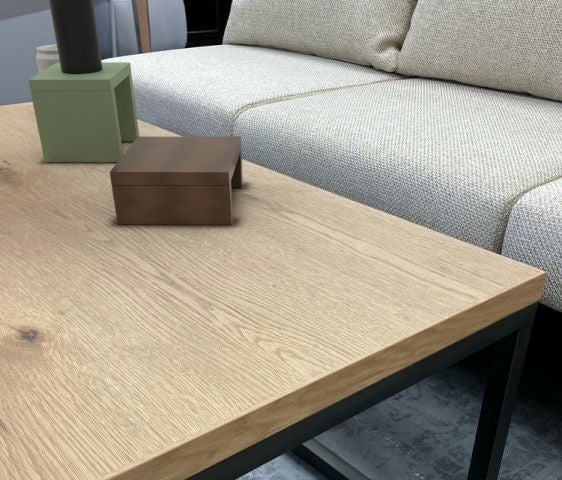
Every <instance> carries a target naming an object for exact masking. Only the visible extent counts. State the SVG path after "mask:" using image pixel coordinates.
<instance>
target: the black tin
mask: <svg viewBox="0 0 562 480" xmlns="http://www.w3.org/2000/svg"><path fill="white" fill-rule="evenodd" d="M48 1H49V3H48V4H49V8H50V13H51V20H52V26H53V30H54V36H55V42H56V43H55V44H57V49H58V55H59V60H60V66H61V71H62V72H63V73H66V74H89V73H95V72H99V71H101V70H102V69H103V68H102V63H103V61H102V55H101V49H100V41H99V34H98V27H97V21H96V13H95V7H94V0H48Z"/></svg>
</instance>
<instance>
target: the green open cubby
mask: <svg viewBox="0 0 562 480" xmlns="http://www.w3.org/2000/svg"><path fill="white" fill-rule="evenodd" d="M102 68H103V69H102V70H101V71H99V72H95V73H89V74H66V73H63V72H62V71H61V66H60V63H55V64H54V65H52V66H50V67H49V68H47V69H45V70H44V71H42V72H40V73H39V72H38V73H37V74H35V75H34V76H31V77H30V78H28V85H29V91H30V96H31V100H32V105H33V111H34V115H35V120H36V126H37V130H38V136H39V140H40V146H41V150H42V155H43V161H44V163H117V162H118V161H119V159H120V158H121V157H122V156H123V154H124V150H123V144H122V142H134V140H135V139H136V138H137V137H140V131H139V124H138V115H137V107H136V100H135V98H136V97H135V90H134V81H133V75H132V68H131V62H128V61H127V62H124V61H123V62H121V61H119V62H111V61H110V62H106V61H105V62H102Z"/></svg>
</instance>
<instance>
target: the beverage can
mask: <svg viewBox="0 0 562 480" xmlns="http://www.w3.org/2000/svg"><path fill="white" fill-rule="evenodd" d="M36 51H37V52H36V55H35V61H36V66H37V71H38V74H39V73H40V72H42V71H44V70H45V69H47V68H49V67H50V66H52V65H54V64H55V63H60V60H59V55H58V49H57V43H53V44H44V45H41V46H37V47H36Z"/></svg>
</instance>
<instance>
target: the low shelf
mask: <svg viewBox="0 0 562 480" xmlns="http://www.w3.org/2000/svg"><path fill="white" fill-rule="evenodd" d="M242 150H243V149H242V137H241V136H139V137H137V138H136V139H135V140H134V141H132V142H131V144H130V146H129V147H128V148H127V149H126V151H125V152H123V156H122V157H121V158H120V159H119V161H118V162H115V164H114V166H113V167H112V168H111V170H110V171H109V177H110V182H111V183H110V184H111V191H112V197H113V205H114V210H115V211H114V212H115V217H116V223H117V225H183V226H185V225H189V226H190V225H191V226H193V225H195V226H196V225H200V226H202V225H203V226H205V225H207V226H210V225H211V226H213V225H214V226H216V225H217V226H220V225H222V226H229V225H230V226H231V225H232V224H233V221H234V214H233V194H232V188H235V189H236V188H240V189H241V188H243V184H244V176H243V174H244V173H243V153H242V152H243V151H242Z"/></svg>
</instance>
